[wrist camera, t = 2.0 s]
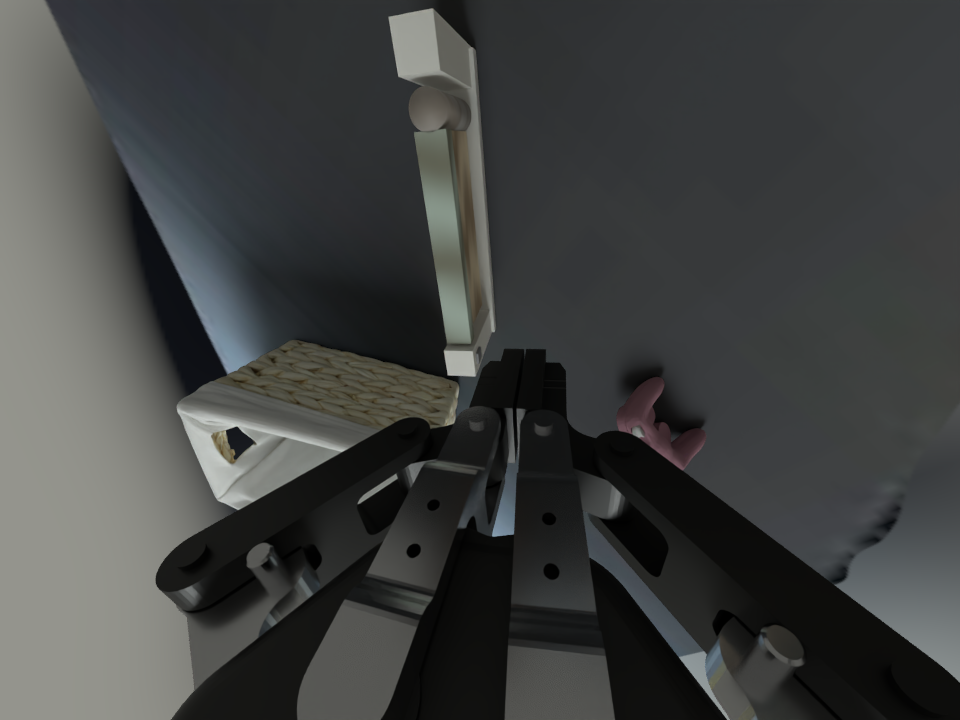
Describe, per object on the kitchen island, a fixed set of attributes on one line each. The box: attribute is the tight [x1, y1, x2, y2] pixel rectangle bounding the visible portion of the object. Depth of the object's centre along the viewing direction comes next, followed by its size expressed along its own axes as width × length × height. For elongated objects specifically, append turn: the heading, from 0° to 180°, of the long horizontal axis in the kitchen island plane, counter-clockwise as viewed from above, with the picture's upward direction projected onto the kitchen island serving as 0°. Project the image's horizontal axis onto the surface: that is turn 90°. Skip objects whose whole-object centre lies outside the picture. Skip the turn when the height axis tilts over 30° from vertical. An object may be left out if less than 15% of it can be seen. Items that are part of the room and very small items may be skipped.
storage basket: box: [177, 340, 459, 510], centre depth 39 cm, size 24×16×15 cm
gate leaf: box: [409, 86, 482, 344], centre depth 27 cm, size 16×2×7 cm, turn 5°
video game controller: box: [617, 377, 706, 470], centre depth 36 cm, size 10×5×7 cm, turn 43°
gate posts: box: [389, 8, 496, 376], centre depth 27 cm, size 22×3×9 cm, turn 5°
